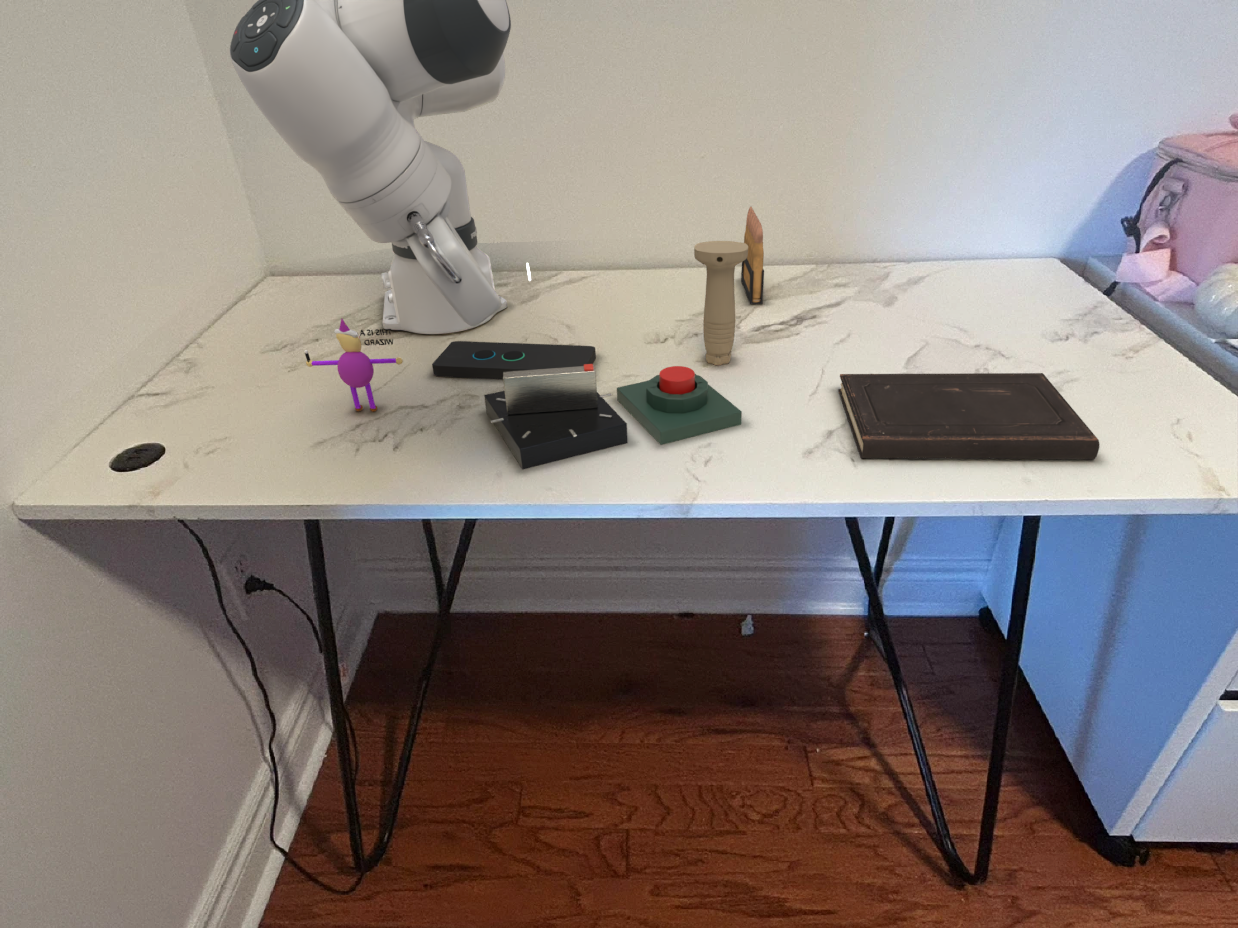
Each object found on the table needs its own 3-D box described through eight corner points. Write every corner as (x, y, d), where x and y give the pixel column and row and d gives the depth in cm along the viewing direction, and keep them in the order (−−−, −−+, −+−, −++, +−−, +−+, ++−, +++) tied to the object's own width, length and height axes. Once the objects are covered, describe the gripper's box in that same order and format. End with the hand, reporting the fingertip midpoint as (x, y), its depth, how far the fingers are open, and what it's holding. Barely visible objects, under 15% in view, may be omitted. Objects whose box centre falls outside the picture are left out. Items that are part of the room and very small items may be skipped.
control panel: (477, 415, 97) (474, 395, 95) (589, 390, 101) (588, 370, 100) (512, 473, 85) (510, 451, 84) (637, 441, 90) (636, 420, 89)
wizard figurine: (414, 405, 100) (396, 311, 93) (408, 418, 97) (389, 321, 90) (323, 407, 100) (298, 314, 94) (314, 420, 97) (288, 324, 91)
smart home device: (452, 339, 112) (596, 344, 109) (454, 350, 113) (597, 356, 110) (429, 364, 105) (582, 371, 102) (431, 377, 106) (583, 384, 103)
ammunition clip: (762, 304, 123) (767, 223, 117) (750, 304, 124) (754, 224, 117) (752, 280, 133) (756, 204, 126) (740, 280, 133) (744, 205, 126)
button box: (617, 400, 99) (615, 373, 97) (691, 383, 102) (691, 356, 100) (660, 445, 89) (660, 417, 87) (741, 424, 92) (742, 396, 90)
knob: (507, 414, 91) (502, 375, 89) (507, 408, 92) (503, 369, 90) (597, 407, 92) (595, 369, 89) (596, 401, 93) (594, 362, 90)
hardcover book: (838, 391, 98) (839, 373, 97) (1038, 390, 96) (1043, 372, 95) (861, 461, 85) (863, 441, 84) (1095, 462, 83) (1101, 442, 82)
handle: (742, 370, 104) (747, 253, 96) (691, 368, 105) (692, 252, 97) (744, 354, 108) (748, 241, 100) (695, 352, 109) (696, 240, 102)
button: (653, 384, 95) (653, 370, 94) (684, 377, 96) (684, 363, 95) (669, 398, 92) (668, 383, 91) (700, 391, 93) (701, 376, 92)
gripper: (462, 222, 63) (547, 336, 74) (398, 127, 77) (477, 235, 87) (397, 270, 64) (490, 377, 74) (344, 167, 77) (429, 271, 88)
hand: (483, 300), depth 81 cm, fingers closed
